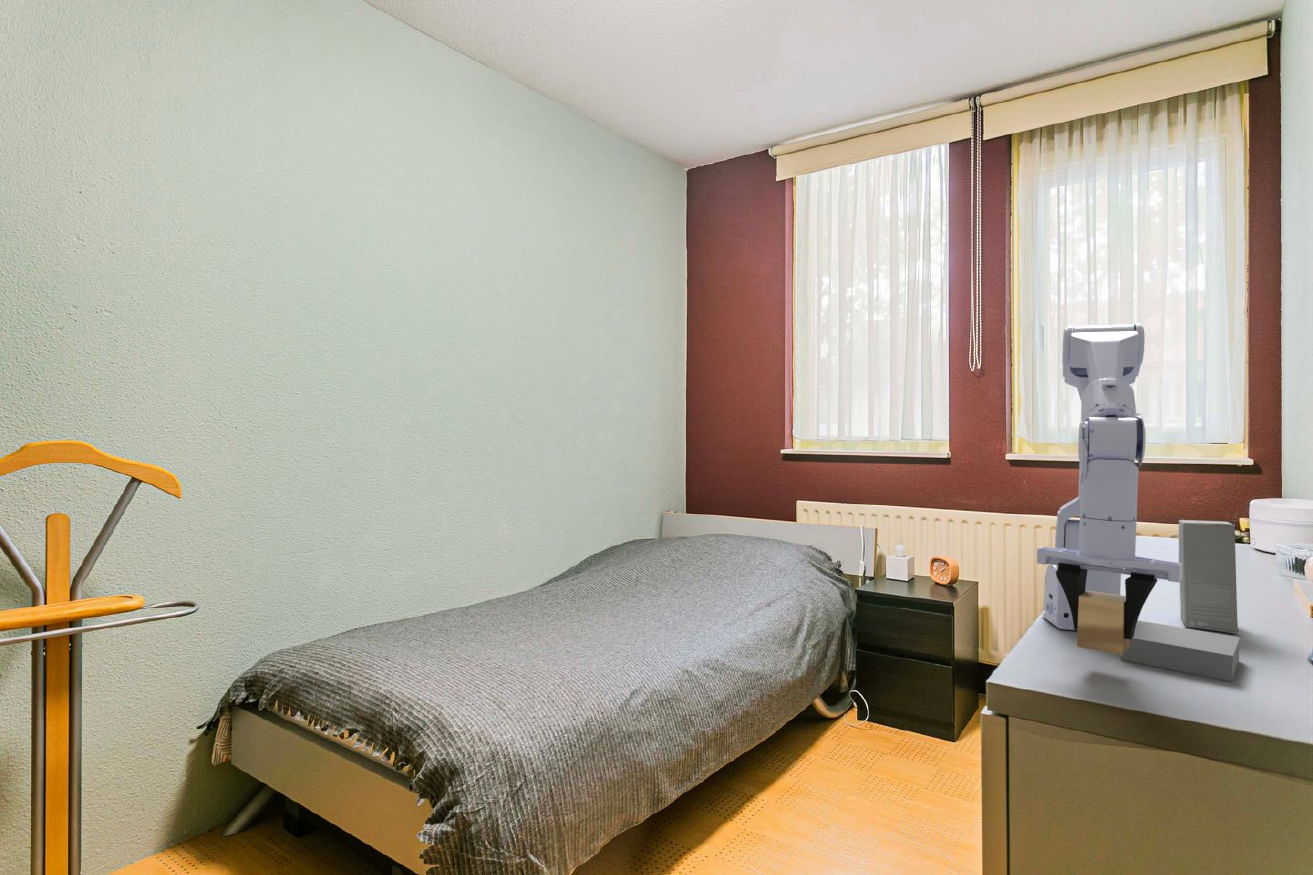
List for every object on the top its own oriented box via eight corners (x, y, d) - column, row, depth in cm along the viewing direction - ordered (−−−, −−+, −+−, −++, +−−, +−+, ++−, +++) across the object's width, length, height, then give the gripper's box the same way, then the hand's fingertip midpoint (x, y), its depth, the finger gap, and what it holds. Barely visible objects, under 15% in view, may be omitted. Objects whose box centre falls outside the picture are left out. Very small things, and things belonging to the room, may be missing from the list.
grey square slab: (1231, 681, 85) (1232, 655, 85) (1120, 659, 92) (1121, 635, 92) (1238, 660, 93) (1239, 637, 93) (1136, 642, 100) (1137, 620, 100)
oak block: (1121, 655, 84) (1123, 603, 84) (1076, 646, 87) (1078, 596, 87) (1128, 647, 87) (1130, 596, 87) (1085, 638, 90) (1087, 590, 90)
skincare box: (1238, 635, 105) (1243, 525, 105) (1177, 627, 109) (1181, 520, 109) (1230, 623, 113) (1234, 520, 112) (1173, 615, 116) (1177, 516, 116)
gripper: (1031, 514, 89) (1027, 626, 89) (1177, 528, 79) (1172, 653, 79) (1047, 510, 94) (1043, 616, 94) (1186, 522, 84) (1181, 640, 84)
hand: (1103, 632), depth 87 cm, fingers closed on oak block, 4 cm apart
